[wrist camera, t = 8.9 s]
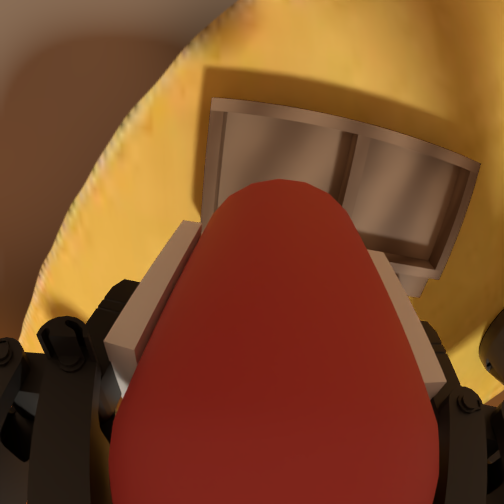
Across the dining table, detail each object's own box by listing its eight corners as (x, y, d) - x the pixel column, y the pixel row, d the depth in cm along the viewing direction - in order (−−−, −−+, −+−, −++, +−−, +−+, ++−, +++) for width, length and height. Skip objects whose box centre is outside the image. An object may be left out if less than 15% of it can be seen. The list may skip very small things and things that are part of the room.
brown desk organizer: (464, 156, 22) (488, 167, 18) (416, 292, 29) (428, 315, 26) (219, 97, 22) (208, 97, 19) (204, 260, 30) (194, 283, 26)
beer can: (346, 305, 14) (387, 558, 4) (216, 307, 15) (153, 552, 5) (359, 174, 11) (555, 494, 1) (197, 178, 12) (-17, 480, 1)
